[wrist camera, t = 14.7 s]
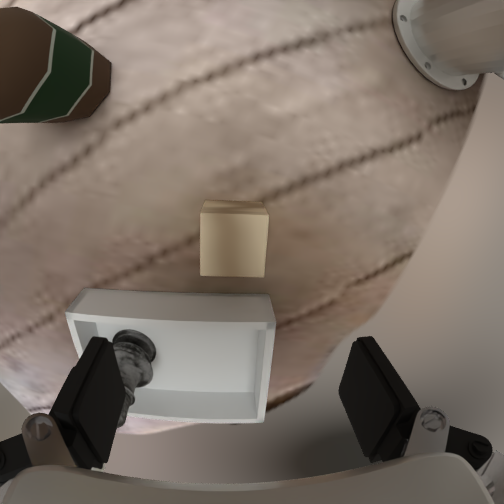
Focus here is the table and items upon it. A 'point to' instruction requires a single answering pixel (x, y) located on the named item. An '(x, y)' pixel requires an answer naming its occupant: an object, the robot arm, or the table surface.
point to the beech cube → (233, 238)
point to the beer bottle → (47, 71)
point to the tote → (189, 350)
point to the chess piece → (133, 364)
